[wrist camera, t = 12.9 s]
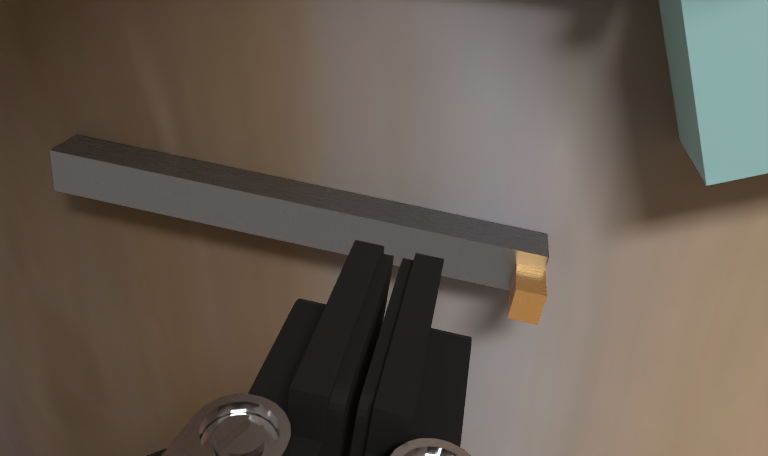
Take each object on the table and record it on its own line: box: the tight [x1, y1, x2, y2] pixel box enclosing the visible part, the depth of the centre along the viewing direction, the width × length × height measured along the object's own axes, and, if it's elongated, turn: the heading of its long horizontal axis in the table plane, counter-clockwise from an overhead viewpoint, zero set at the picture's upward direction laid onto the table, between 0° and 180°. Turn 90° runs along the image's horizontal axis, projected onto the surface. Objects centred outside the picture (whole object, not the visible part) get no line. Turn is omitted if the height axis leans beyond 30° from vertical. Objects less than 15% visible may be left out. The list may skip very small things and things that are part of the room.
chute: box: [50, 135, 549, 325], centre depth 25 cm, size 15×22×4 cm
